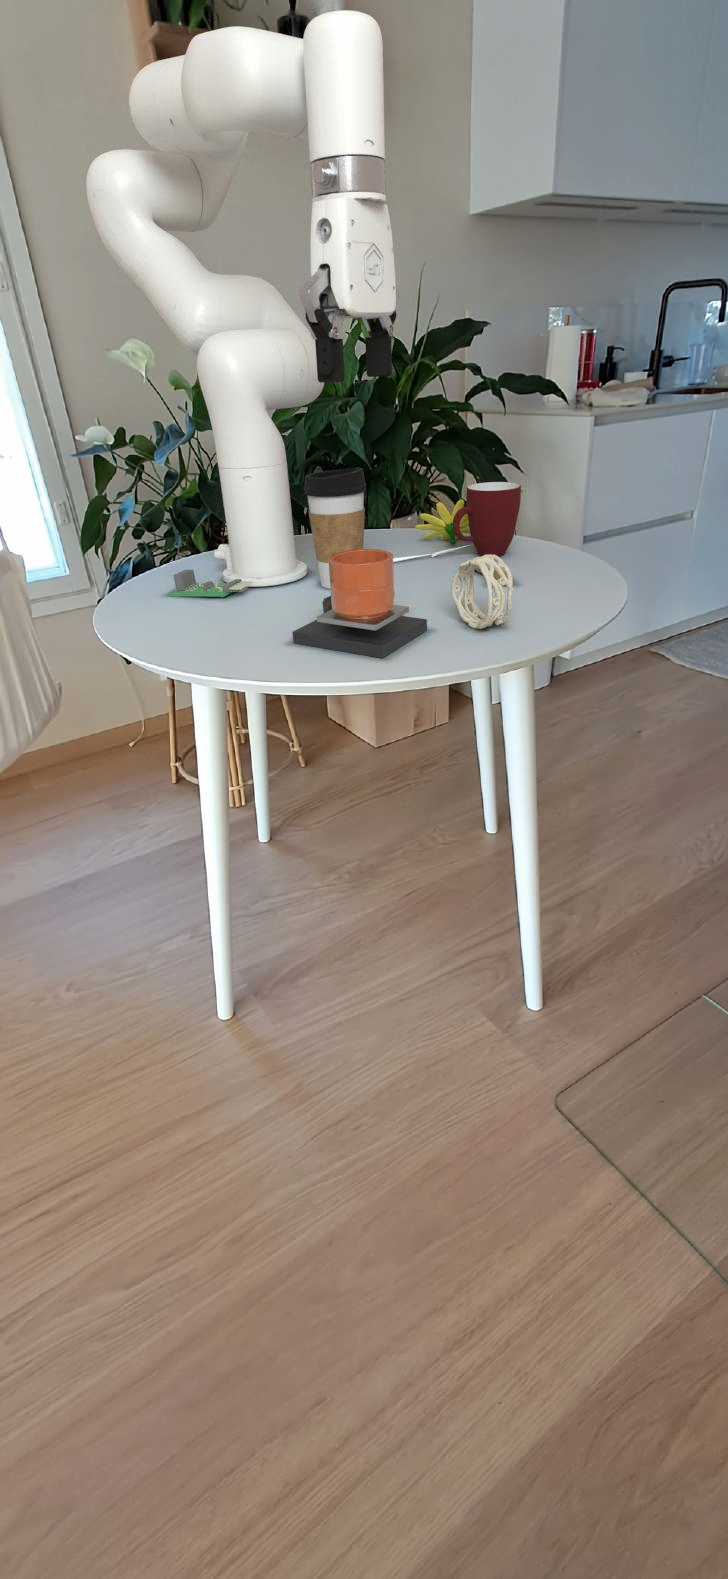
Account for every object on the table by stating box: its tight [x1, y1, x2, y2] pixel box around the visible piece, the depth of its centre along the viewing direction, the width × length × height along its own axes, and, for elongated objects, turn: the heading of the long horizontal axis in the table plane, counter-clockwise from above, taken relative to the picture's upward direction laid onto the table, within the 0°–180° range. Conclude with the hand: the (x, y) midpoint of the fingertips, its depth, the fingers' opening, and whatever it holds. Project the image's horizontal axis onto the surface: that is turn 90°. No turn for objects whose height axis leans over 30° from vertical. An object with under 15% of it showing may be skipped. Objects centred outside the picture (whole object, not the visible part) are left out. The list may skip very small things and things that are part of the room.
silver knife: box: [393, 543, 474, 563], centre depth 119 cm, size 4×1×19 cm
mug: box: [453, 481, 522, 558], centre depth 116 cm, size 11×8×10 cm
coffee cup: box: [303, 467, 367, 590], centre depth 104 cm, size 8×8×15 cm
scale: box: [292, 595, 428, 659], centre depth 88 cm, size 13×11×3 cm
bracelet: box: [450, 555, 515, 630], centre depth 87 cm, size 4×8×8 cm, turn 31°
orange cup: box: [328, 548, 396, 620], centre depth 82 cm, size 7×7×6 cm
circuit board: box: [167, 569, 253, 599], centre depth 107 cm, size 12×3×5 cm
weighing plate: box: [316, 604, 410, 631], centre depth 84 cm, size 8×7×1 cm
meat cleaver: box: [474, 566, 515, 587], centre depth 107 cm, size 12×1×5 cm
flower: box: [414, 499, 470, 546], centre depth 125 cm, size 4×12×12 cm
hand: (356, 379), depth 85 cm, fingers open, 9 cm apart
